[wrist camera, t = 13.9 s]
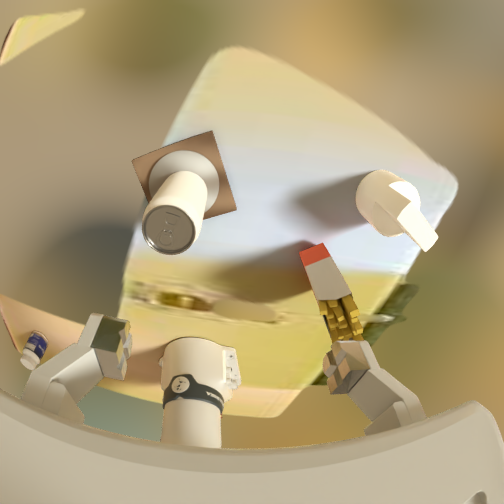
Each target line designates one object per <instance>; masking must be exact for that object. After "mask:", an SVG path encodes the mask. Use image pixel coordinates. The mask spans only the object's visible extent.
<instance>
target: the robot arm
mask: <svg viewBox="0 0 504 504" xmlns="http://www.w3.org/2000/svg"><path fill="white" fill-rule="evenodd" d="M129 330H130V322H129V321H127V320H123V319H118V318H114V317H110V316H106V315H101V314H97V313H92V314H91V315H90V317H89V319H88V321H87V323H86V325H85V327H84V330H83V332H82V334H81V336H80V338H79V341H78V343H77V344H76V343H73V344H72V345H70V346H69V347H67V348H66V349H64V350H63V351H61V352H60V353H58V354H57V355H55V356H54V357H52V358H51V359H49V360H48V361H47V362H45V363H44V364H42V365H41V366H39V367H38V368H36V369H35V370H33V371H32V372H31V374H30V377H29V379H28V382H27V384H26V386H25V389H24V391H23V395H22V397H21V399H19V398H17V397H15V396H13V395H11V394H9V393H8V392H6V391H3V390H2V389H0V504H504V442H503V439H502V436H501V434H500V431H499V428H498V426H497V423H496V421H495V419H494V417H493V415H492V414H491V413H490V412H489V411H488V410H487V409H486V408H485V407H484V406H482V405H481V404H480V403H478V402H476V401H474V400H471V401H468V402H466V403H463V404H461V405H459V406H457V407H454V408H452V409H450V410H447V411H445V412H442V413H440V414H437V415H434V416H432V417H429V418H427V417H426V415H425V413H424V411H423V408H422V406H421V404H420V401H419V399H418V397H417V396H416V395H415V394H414V393H412V392H411V391H410V390H409V389H407V388H406V387H405V386H404V385H402V384H401V383H400V382H398V381H397V380H396V379H395V378H394V377H393V376H391V375H390V374H389V373H388V372H386V371H385V370H384V369H380V367H379V365H378V363H377V361H376V358H375V356H374V354H373V352H372V350H371V347H370V345H369V343H368V342H367V341H335V342H334V343H333V344H332V345H331V349H332V350H331V351H329V352H328V353H326V355H325V357H324V359H323V371H324V374H325V375H326V376H327V377H329V378H328V381H327V384H328V387H329V391H330V394H347V393H348V394H347V395H348V396H349V397H350V398H351V399H352V400H353V401H354V403H355V404H356V405H357V406H358V407H359V408H360V409H361V410H362V411H363V413H364V414H365V415H366V416H367V417H368V418H369V419H370V420H371V421H372V422H371V423H370V424H369V425H368V426H367V427H365V429H364V432H365V435H366V436H363V437H358V438H354V439H348V440H343V441H336V442H330V443H323V444H316V445H307V446H298V447H285V448H268V449H225V448H221V418H222V417H220V415H222V411H223V408H224V403H225V402H227V401H229V400H230V399H231V398H232V397H233V389H237V388H238V386H239V385H240V384H241V376H240V371H239V365H238V360H237V354H236V350H235V349H234V348H231V347H226V346H221V345H219V344H216V343H214V342H212V341H209V340H206V339H202V338H181V339H177V340H175V341H173V342H171V343H169V344H168V345H167V347H166V348H165V351H164V356H163V357H162V358H160V360H159V365H160V366H161V367H162V377H161V388H162V390H163V391H164V396H163V409H164V416H163V425H162V434H161V439H160V442H155V441H150V440H144V439H139V438H134V437H130V436H125V435H121V434H117V433H113V432H109V431H105V430H101V429H98V428H94V427H91V426H87V425H85V424H83V423H84V415H83V414H82V412H81V411H80V409H79V408H78V406H77V405H76V404H77V403H78V402H79V401H80V400H81V399H82V398H83V397H84V396H85V395H86V394H87V393H88V392H89V391H90V390H91V389H92V388H93V387H94V386H96V385H97V384H98V383H99V382H100V381H101V380H102V379H103V378H104V377H108V378H113V379H118V380H123V381H124V378H125V374H126V370H127V363H126V360H127V359H129V358H130V354H131V349H132V335H131V334H130V333H129ZM103 376H104V377H103Z"/></svg>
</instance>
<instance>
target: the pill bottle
mask: <svg viewBox="0 0 504 504" xmlns="http://www.w3.org/2000/svg"><path fill="white" fill-rule="evenodd" d="M47 346H48V340H47V338H46V337H45V336H44V335H43V334H42V333H40V332H38V331H33V332H32V334H31V336H30V337H29V339H28V341H27V343H26V345H25V347H24V349H23V356H22V357H21V359H20V361H21V363H22V364H23V365H24V366H25V367H26V368H28V369H30V370H35V368H36V364H39V363H40V361H41V359H42V357H43V355H44V352H45V350H46V348H47Z"/></svg>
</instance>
